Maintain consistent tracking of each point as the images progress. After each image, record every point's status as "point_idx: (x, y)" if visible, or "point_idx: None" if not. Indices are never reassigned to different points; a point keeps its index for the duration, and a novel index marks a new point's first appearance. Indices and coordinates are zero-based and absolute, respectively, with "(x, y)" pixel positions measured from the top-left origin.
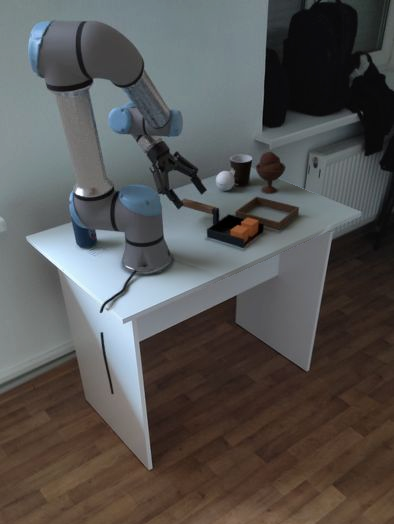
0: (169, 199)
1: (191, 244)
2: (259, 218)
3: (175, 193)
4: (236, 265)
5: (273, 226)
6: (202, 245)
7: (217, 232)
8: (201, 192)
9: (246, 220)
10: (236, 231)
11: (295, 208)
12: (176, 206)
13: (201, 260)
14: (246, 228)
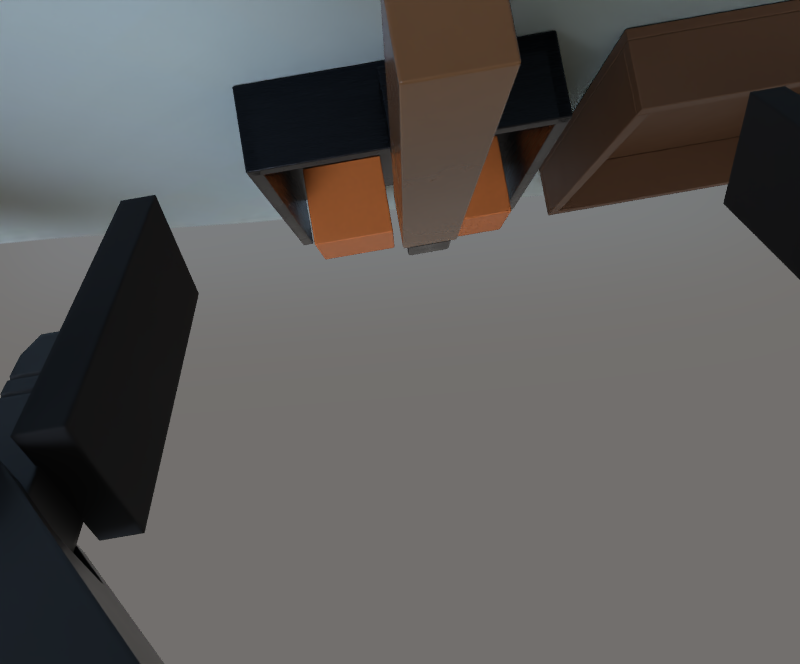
0: (16, 369)
1: (60, 82)
2: (577, 176)
3: (164, 439)
4: (172, 225)
5: (549, 181)
6: (138, 115)
7: (269, 200)
8: (758, 132)
9: (468, 222)
10: (323, 252)
11: None
12: (114, 239)
13: (26, 184)
14: (383, 247)
